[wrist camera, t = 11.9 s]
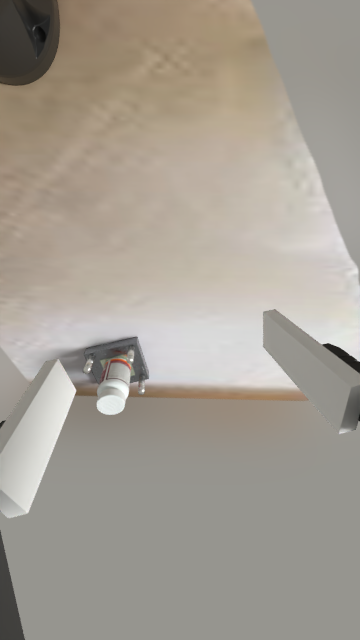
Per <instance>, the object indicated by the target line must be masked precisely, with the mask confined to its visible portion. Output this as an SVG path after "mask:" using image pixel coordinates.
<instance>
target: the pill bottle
mask: <svg viewBox="0 0 360 640" xmlns="http://www.w3.org/2000/svg"><path fill="white" fill-rule="evenodd" d="M126 361H127V360H125V359H123V358H112V359H110V360H108V361H107V362H106V363H105V365H104V368H103V371H102V375H101V378H100V382H99V386H98V390H97V395H98V401H97V408H98V410H99V411H100V412H102V413H104V414H107V415H113V414H117V413H119V412H121V411H122V410H123V409H124V406H125V400H126V398H127V396H128V393H129V384H130V374H131V366H130V364H128V363H127V362H126Z"/></svg>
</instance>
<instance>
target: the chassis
mask: <svg viewBox="0 0 360 640" xmlns="http://www.w3.org/2000/svg"><path fill="white" fill-rule="evenodd" d="M84 356H85V358H86V360H87V362H86V364H85V367H84V369H83V372H84V373H85V374H89V373H90V371H91V370H92V372H93V374H94V376H95V379H96V381H97V383H98V385H99V382H100V378H101V375H102V371H103V368H104V365H105V363H106V362H107V361H108V360H110V359H112V358H123V359H125V360H127V361H126V362H127V363H128V364H130V366H131V374H130V383H133V382H137V381H139V387H138V393H139V394H140V395H142V394H144V392H145V380H146V379H149V371H148V368H147V365H146V362H145V359H144V356H143V353H142V350H141V347H140V344H139V341H138V338H137V337H134V338H130V339H125V340H121V341H117V342H112V343H108V344H103V345H99V346H95V347H90V348H87V349H86V351H85V353H84Z"/></svg>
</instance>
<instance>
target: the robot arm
mask: <svg viewBox="0 0 360 640" xmlns="http://www.w3.org/2000/svg"><path fill="white" fill-rule="evenodd" d="M59 33H60V22H59V11H58V4H57V0H0V82H1V83H5V84H10V85H24V84H29V83H31V82H34V81H36V80H37V79H39V78H40V77H41V76H43V75H44V74H45V73H46V71H47V70H48V69H49V67H50V66H51V64H52V62H53V60H54V58H55V55H56V52H57V48H58V43H59ZM263 347H264V348H265V349H266V351H267V352H268V353H269V354H270V355H271V356H272V358H273V359H274V360H275V361H276V362H277V363H278V364H279V366H280V367H281V368H282V369H283V370H284V371H285V373H286V374H287V375H288V376H289V377H290V378H291V380H292V381H293V382H294V383H295V384H296V385H297V387H298V388H299V389H300V390H301V391H302V392H303V394H304V395H305V396H306V397H307V398H308V399H309V400H310V402H311V403H312V404H313V405H314V406H315V407H316V408H317V410H318V411H319V412H320V413H321V414H322V416H324V418H325V419H326V420H327V421H328V423H330V425H331V426H332V427H333V428H334V429H335V431H336V432H337V433H338V434H341V433H345V432H349V431H353V430H356V427H357V424H358V421H360V362H359V361H357V360H356V359H355V358H354V357H352V356H350V355H349V354H348V353H346V352H345V351H344V350H342V349H341V348H339V347H336V346H334V345H331V344H329V343H327V344H323V345H321V344H320V343H319V342H317V341H316V340H315V339H313V338H312V337H311V336H309V335H308V334H307V333H306V332H304V331H303V330H302V329H300V328H299V327H298V326H296V325H295V324H294V323H292V322H291V321H290V320H288V319H287V318H286V317H284V316H283V315H282V314H281V313H279V312H278V311H277V310H275V309H274V310H269V311H265V312H263ZM75 393H76V389H75V387H74V386H73V384H72V382H71V380H70V379H69V377H68V375H67V373H66V371H65V370H64V368H63V366H62V364H61V363H60V361H59V359H54V360H50V361H46V362H45V363H44V365H43V366H42V368H41V369H40V371H39V372H38V374H37V375H36V377H35V378H34V380H33V381H32V383H31V384H30V386H29V387H28V389H27V390H26V391H25V393H24V395H23V396H22V397H21V399H20V400H19V402H18V403H17V405H16V406H15V408H14V409H13V411H12V412H11V414H10V415H9V417H8V418H7V420H5V421H2V422H1V423H0V512H1V513H3V514H4V515H6V517H8V518H12V517H15V516H19V515H23V514H27V513H28V511H29V509H30V506H31V504H32V501H33V499H34V496H35V494H36V491H37V489H38V486H39V484H40V481H41V479H42V476H43V474H44V471H45V469H46V466H47V463H48V461H49V459H50V456H51V453H52V451H53V448H54V446H55V443H56V441H57V438H58V436H59V433H60V431H61V428H62V426H63V423H64V421H65V418H66V416H67V413H68V410H69V408H70V405H71V403H72V400H73V398H74V395H75ZM0 640H25V639H24V634H23V630H22V626H21V621H20V617H19V613H18V608H17V604H16V599H15V594H14V591H13V586H12V581H11V576H10V572H9V568H8V563H7V559H6V555H5V550H4V545H3V541H2V536H1V532H0Z"/></svg>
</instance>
